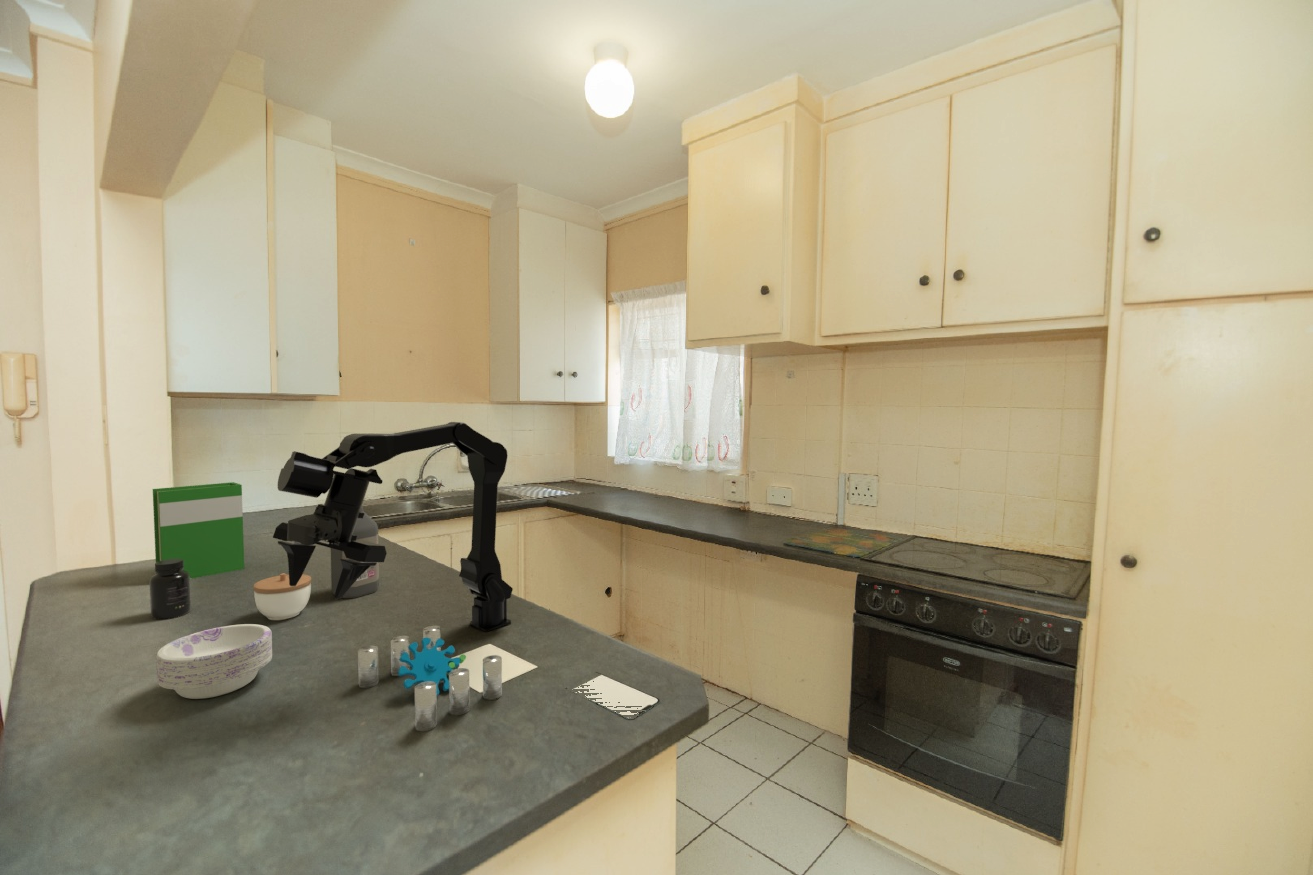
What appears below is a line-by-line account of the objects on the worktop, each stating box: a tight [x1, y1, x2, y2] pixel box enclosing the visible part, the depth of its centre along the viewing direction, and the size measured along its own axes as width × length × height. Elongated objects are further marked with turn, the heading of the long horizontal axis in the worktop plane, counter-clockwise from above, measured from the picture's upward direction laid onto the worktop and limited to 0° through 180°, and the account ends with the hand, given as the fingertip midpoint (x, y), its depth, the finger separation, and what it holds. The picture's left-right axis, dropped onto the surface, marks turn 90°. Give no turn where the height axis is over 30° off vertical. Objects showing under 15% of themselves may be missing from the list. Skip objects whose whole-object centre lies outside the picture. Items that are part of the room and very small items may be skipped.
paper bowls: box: [155, 623, 273, 700], centre depth 94 cm, size 15×15×8 cm
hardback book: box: [152, 481, 245, 579], centre depth 154 cm, size 18×7×24 cm, turn 141°
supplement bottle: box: [148, 559, 192, 620], centre depth 125 cm, size 7×7×12 cm
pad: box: [452, 643, 538, 694], centre depth 102 cm, size 12×15×1 cm
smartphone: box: [564, 671, 661, 720], centre depth 93 cm, size 8×1×16 cm
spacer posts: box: [357, 625, 503, 732], centre depth 94 cm, size 14×22×6 cm, turn 51°
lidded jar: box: [252, 572, 312, 621], centre depth 125 cm, size 11×11×9 cm
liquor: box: [330, 505, 380, 599], centre depth 140 cm, size 9×9×30 cm
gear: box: [398, 637, 466, 697], centre depth 95 cm, size 11×6×10 cm
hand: (314, 592), depth 96 cm, fingers open, 9 cm apart
